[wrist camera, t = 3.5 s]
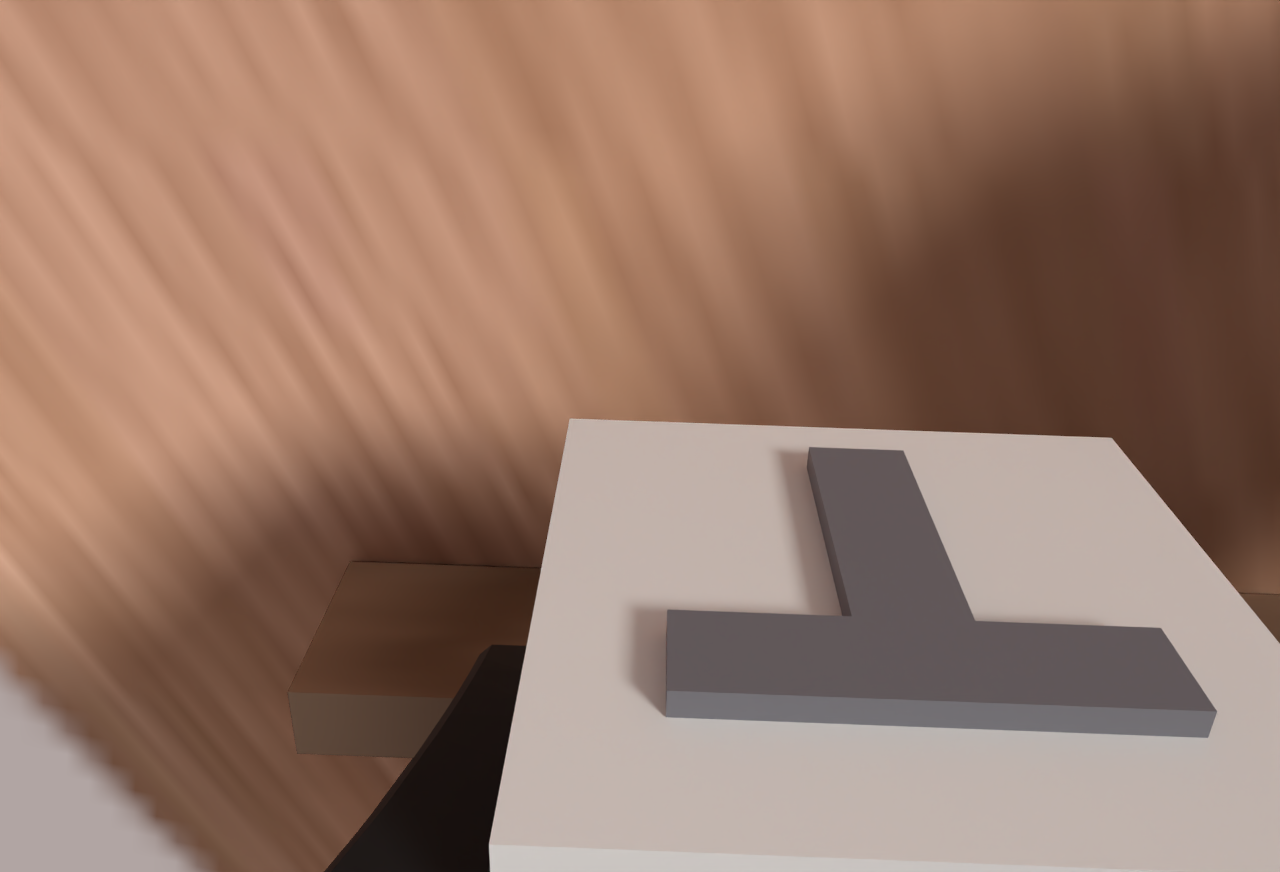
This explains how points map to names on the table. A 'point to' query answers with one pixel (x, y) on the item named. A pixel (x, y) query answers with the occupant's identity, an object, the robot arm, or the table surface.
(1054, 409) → the table surface
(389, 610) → the walnut block
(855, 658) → the lettered cube
